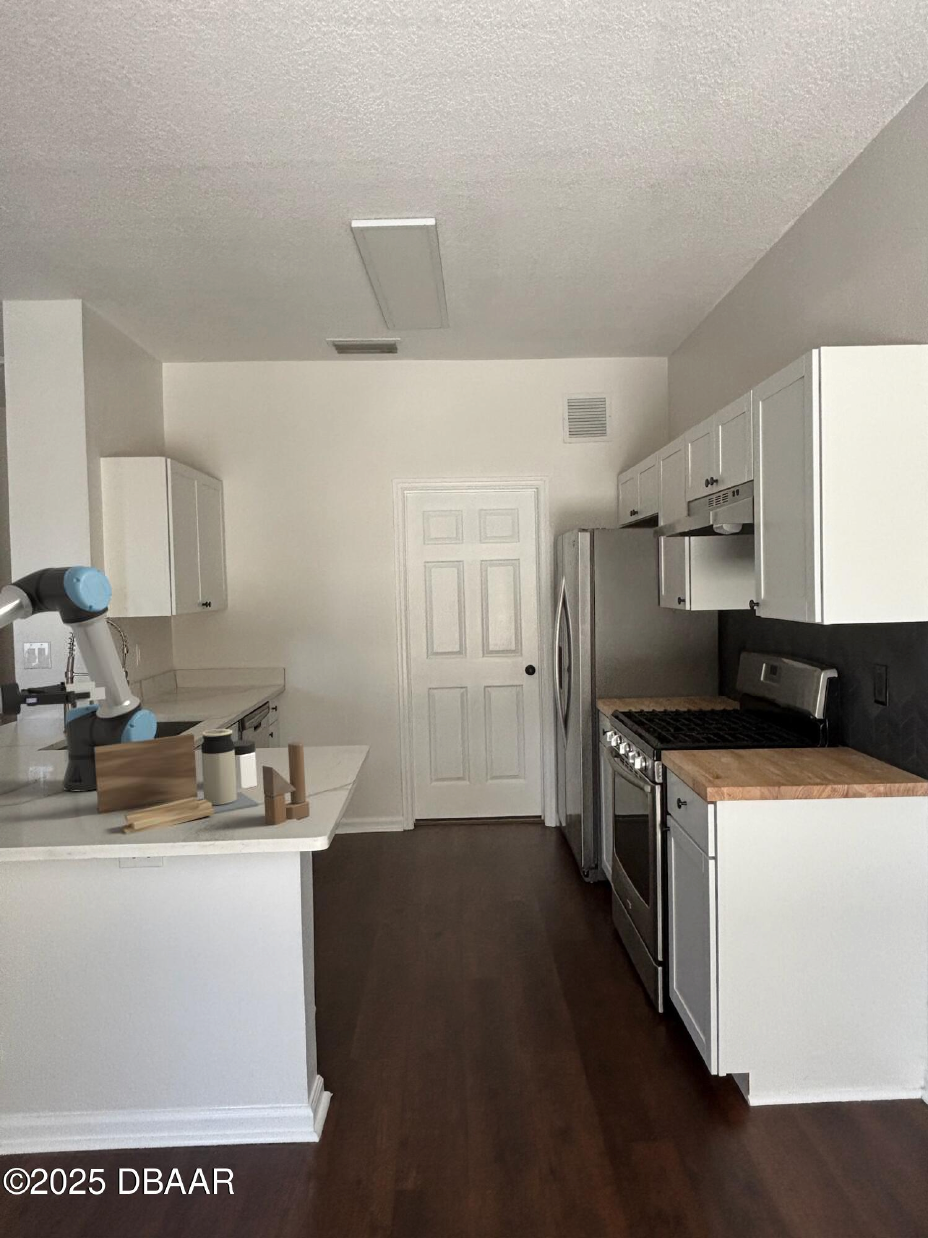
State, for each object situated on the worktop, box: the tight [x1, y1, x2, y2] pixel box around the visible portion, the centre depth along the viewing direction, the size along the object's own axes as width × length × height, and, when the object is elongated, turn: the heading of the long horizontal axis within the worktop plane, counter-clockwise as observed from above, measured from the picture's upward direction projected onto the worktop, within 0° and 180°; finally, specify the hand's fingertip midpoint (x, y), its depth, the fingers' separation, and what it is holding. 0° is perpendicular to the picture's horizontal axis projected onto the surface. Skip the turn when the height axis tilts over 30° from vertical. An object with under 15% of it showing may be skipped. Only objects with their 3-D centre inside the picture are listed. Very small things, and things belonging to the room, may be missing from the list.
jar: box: [232, 739, 258, 790], centre depth 231 cm, size 9×8×12 cm
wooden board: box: [94, 733, 198, 815], centre depth 214 cm, size 4×24×17 cm, turn 123°
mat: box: [197, 791, 259, 816], centre depth 211 cm, size 14×14×1 cm
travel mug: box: [200, 728, 238, 805], centre depth 211 cm, size 8×8×18 cm
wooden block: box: [262, 741, 311, 826], centre depth 197 cm, size 4×11×18 cm, turn 143°
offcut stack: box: [121, 797, 215, 835], centre depth 197 cm, size 6×20×4 cm, turn 123°
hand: (100, 689), depth 202 cm, fingers open, 13 cm apart
